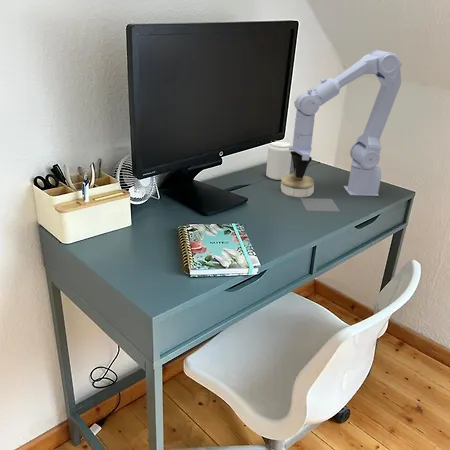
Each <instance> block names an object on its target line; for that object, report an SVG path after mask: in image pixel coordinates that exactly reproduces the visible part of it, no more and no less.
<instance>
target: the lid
mask: <svg viewBox="0 0 450 450" xmlns="http://www.w3.org/2000/svg"><path fill="white" fill-rule="evenodd" d="M281 182H282V183H283V184H285V185H287V186H290V187H296V188H309V187H312V186H313V185H314V186H315V180H314V179H313V178H312V177H310V176H308V175H304V176H303V178H297V177H296V168H295V171H294V170H293V173H290V174H287V175H284V176H282V178H281V180H280V183H281Z"/></svg>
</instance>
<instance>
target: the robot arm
mask: <svg viewBox="0 0 450 450" xmlns="http://www.w3.org/2000/svg"><path fill="white" fill-rule="evenodd" d="M402 65H403V63H402V61H401V60H400V57H399V56H398V54H397V53H395V52H391V51H384V50H381V49H374V50H371V51H370V53H367V54H365V55H364V56H362V57H361V58H360V59H359V60H358V61H357V62H355V63H354V64H352V65H351V66H350V67H349V68H347V69H345V70H344V71H343V72H341V73H340V74H339V75H337V76H336V77H335V78H334V77H327V78H325V77H324V78H322V79H321V80H320V83H319V84H317V85H316V86H313V87H312V88H308V89H307V92H302V93H300V94H299V95H298V96H296V98H295V100H294V107H295V109H296V111H295V115H296V116H295V119H294V120H295V122H294V130H293V139H292V141H293V142H292V145H291V146H289V150H292V151H291V152H290V153H291V160H292V164H293V165H292V166H293V172H294V171H295V168H296V177H297V178H303V176H305V173H306V171H307V167H308V166H309V164H310V162H311V161H312V159H313V158H312V156H310V154H311V152H312V144H313V137H314V136H313V135H314V126H315V116H316V114H317V112H318V111H319V109H320V107H322V106H323V105H325V104H326V103H327V102H329V101H331V100H332V99H334V98H335V97H336V96H338V95H339V94H340V90H341V89H343V87H345V86H346V85H348V84H350V83H351V82H354V81H355V80H357V79H358V78H360V77H362V76H364V75H375V76H376V78H377V80H378V81H379V84H380V87H379V90H378V93H377V95H376V98H375V100H374V104H373V106H372V109H371V111H370V114H369V117H368V119H367V122H366V125H365V128H364V129H363V130H364V131H363V133H362V134H360V135H359V137H357V139H356V141H355V142H354V144H353V145H352V146H351V148H350V151H349V156H350V157H351V159H352V161H351V165H350V172H349V178H348V184H347V185H343V188H344V189H345V191H346V192H347V193H348V195H350V196H371V197H373V196H375V197H379V189H380V186H381V179H382V170H381V167H380V166H377V165H379V162H380V158H381V156H380V155H381V154H380V153H381V149H382V145H381V141H380V140H381V137H382V133H384V132H383V131H384V129H385V126H386V124H387V122H388V120H389V119H388V118H389V115H390V114H391V111H392V108H393V106H394V104H395V100H396V97H397V95H398V93H399V91H400V87H401V85H402V76H401V74H402V73H401V67H402Z"/></svg>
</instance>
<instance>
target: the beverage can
mask: <svg viewBox="0 0 450 450" xmlns="http://www.w3.org/2000/svg"><path fill="white" fill-rule="evenodd" d="M275 141H276V142H272V141H271V142H272V143H269V145H268V147H267V160H266V173H265V175H266V177H267V178H269V179H271V180H275V181H281V178H282V176H284V175H287V174H291V173H290V172H291V163H292V155H291V153H290V152H291V151H293V150H289V146H292V143H291V142H289V141H284V140H275Z"/></svg>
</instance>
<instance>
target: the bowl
mask: <svg viewBox="0 0 450 450" xmlns="http://www.w3.org/2000/svg"><path fill="white" fill-rule="evenodd" d="M314 189H315V184H314V185H313V186H312V187H309V188H296V187H290V186H287V185H285V184H283V183H282V182H281V181H280V190H281V193H282V194H283V195H286V196H289V197H293V198H294V197H296V198H307V197H308V198H309V197H310V196H312V195H313V194H314Z"/></svg>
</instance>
